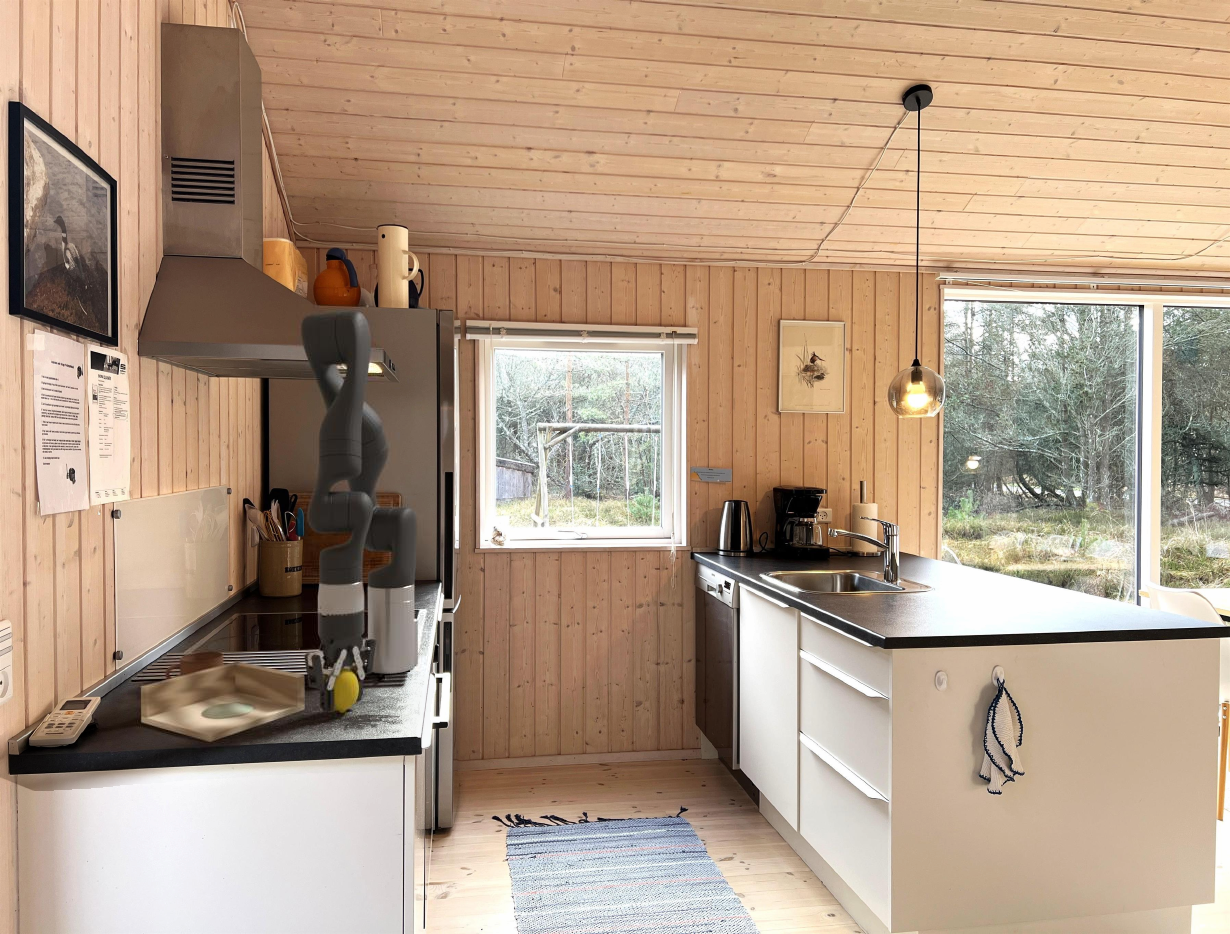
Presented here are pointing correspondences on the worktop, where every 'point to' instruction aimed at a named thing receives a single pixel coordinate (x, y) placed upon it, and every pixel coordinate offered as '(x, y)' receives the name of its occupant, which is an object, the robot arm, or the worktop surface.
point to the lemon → (345, 690)
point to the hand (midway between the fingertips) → (341, 705)
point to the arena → (222, 700)
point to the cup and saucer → (196, 663)
